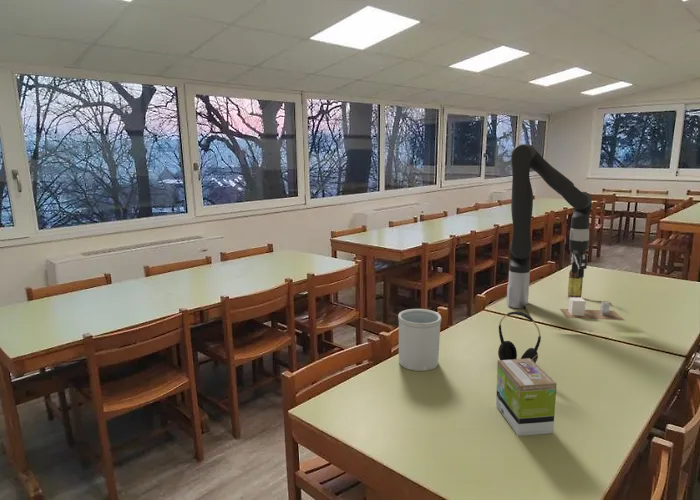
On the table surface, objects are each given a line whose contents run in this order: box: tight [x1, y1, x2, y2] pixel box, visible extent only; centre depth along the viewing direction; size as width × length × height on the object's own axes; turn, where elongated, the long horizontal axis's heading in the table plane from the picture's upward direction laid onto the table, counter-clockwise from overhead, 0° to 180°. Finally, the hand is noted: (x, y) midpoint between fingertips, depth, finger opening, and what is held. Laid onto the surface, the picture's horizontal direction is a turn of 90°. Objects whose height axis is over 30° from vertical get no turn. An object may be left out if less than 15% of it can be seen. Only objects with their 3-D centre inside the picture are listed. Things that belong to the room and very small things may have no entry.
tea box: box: [495, 358, 557, 437], centre depth 125 cm, size 15×10×15 cm, turn 5°
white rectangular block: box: [567, 297, 587, 316], centre depth 203 cm, size 5×5×7 cm
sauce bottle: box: [567, 265, 584, 298], centre depth 228 cm, size 6×6×20 cm
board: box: [559, 308, 625, 321], centre depth 202 cm, size 23×12×2 cm, turn 80°
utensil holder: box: [397, 308, 442, 372], centre depth 160 cm, size 15×15×18 cm
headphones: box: [497, 310, 542, 364], centre depth 154 cm, size 9×15×20 cm, turn 43°
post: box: [599, 301, 610, 316], centre depth 201 cm, size 3×3×6 cm
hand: (577, 275), depth 201 cm, fingers open, 8 cm apart
